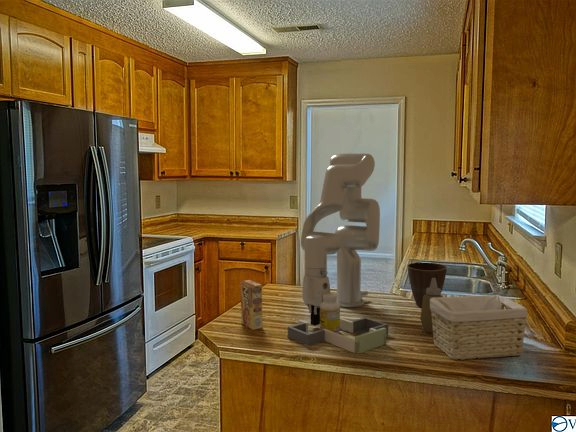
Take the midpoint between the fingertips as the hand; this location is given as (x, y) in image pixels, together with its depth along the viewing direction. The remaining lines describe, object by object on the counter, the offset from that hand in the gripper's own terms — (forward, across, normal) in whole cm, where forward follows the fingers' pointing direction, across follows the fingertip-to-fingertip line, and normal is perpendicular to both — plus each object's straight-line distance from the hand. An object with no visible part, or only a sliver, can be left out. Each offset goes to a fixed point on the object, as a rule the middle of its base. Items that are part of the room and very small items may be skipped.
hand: (315, 324), depth 168 cm
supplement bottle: (+1, -7, 0) cm, 7 cm away
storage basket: (+2, -45, -24) cm, 51 cm away
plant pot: (+1, -8, -51) cm, 52 cm away
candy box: (+1, +15, +16) cm, 22 cm away
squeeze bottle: (+1, -27, -28) cm, 39 cm away
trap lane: (+1, -12, 0) cm, 12 cm away
